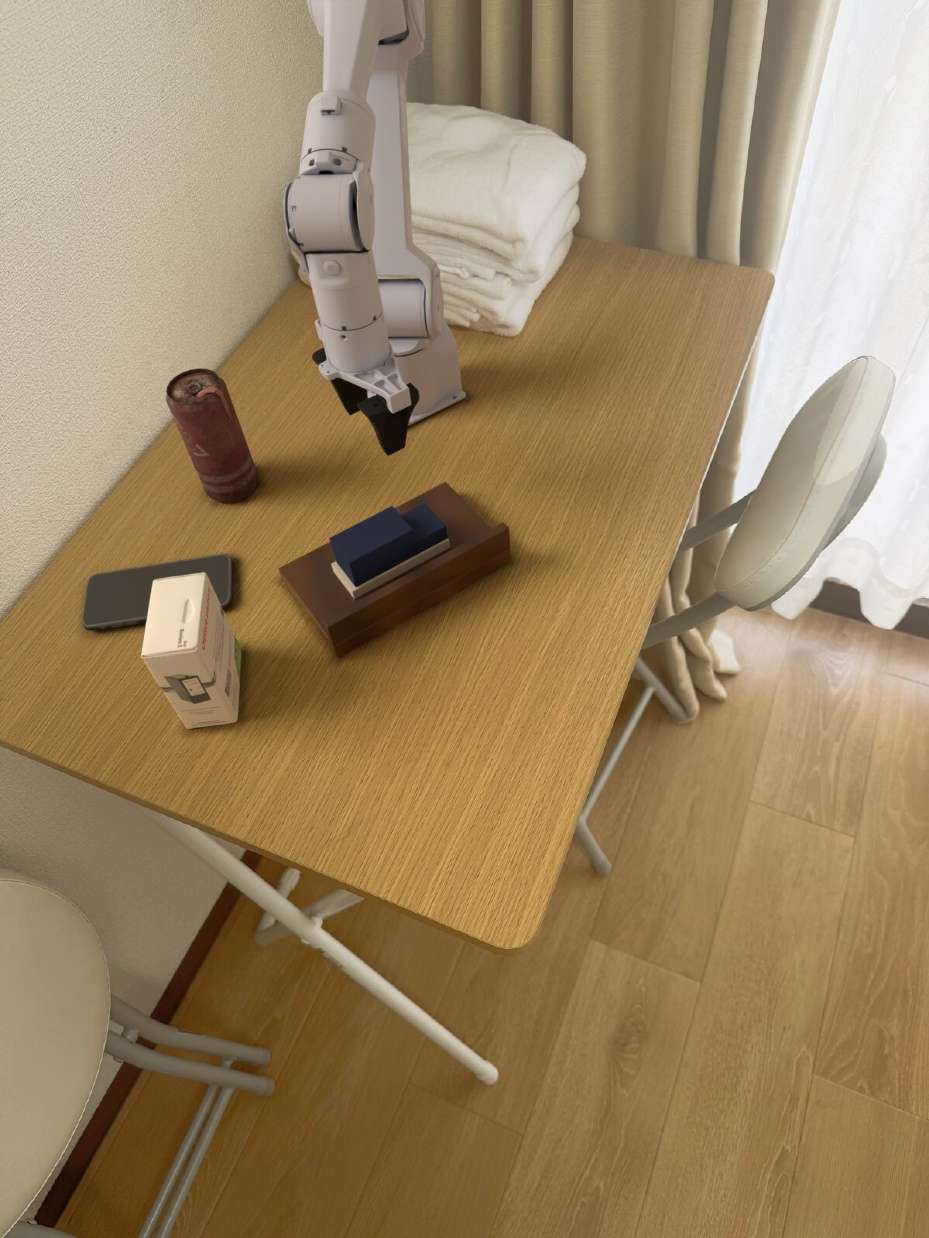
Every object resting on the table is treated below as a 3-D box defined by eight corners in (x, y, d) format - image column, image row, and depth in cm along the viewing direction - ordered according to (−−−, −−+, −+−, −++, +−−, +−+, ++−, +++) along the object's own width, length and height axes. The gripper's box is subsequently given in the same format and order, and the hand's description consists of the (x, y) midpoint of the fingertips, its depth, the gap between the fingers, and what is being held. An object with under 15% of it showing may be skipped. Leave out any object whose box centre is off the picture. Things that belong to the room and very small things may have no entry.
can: (251, 507, 100) (212, 406, 89) (197, 502, 101) (152, 402, 90) (269, 469, 103) (234, 367, 92) (217, 464, 104) (176, 363, 93)
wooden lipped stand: (447, 494, 98) (442, 460, 95) (511, 561, 92) (509, 527, 88) (282, 581, 93) (270, 548, 89) (338, 659, 86) (327, 627, 82)
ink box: (193, 654, 88) (149, 576, 79) (244, 648, 88) (206, 569, 79) (185, 730, 83) (137, 656, 74) (239, 724, 83) (198, 649, 74)
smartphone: (231, 605, 90) (79, 629, 90) (233, 610, 91) (82, 635, 91) (231, 550, 95) (86, 573, 94) (234, 556, 96) (90, 579, 95)
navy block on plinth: (354, 599, 88) (345, 567, 84) (333, 571, 90) (323, 539, 87) (450, 547, 91) (445, 514, 87) (427, 522, 93) (421, 488, 90)
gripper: (275, 292, 84) (307, 408, 95) (350, 370, 76) (377, 487, 87) (342, 263, 86) (366, 381, 96) (422, 336, 78) (439, 455, 89)
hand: (375, 429), depth 92 cm, fingers open, 7 cm apart
